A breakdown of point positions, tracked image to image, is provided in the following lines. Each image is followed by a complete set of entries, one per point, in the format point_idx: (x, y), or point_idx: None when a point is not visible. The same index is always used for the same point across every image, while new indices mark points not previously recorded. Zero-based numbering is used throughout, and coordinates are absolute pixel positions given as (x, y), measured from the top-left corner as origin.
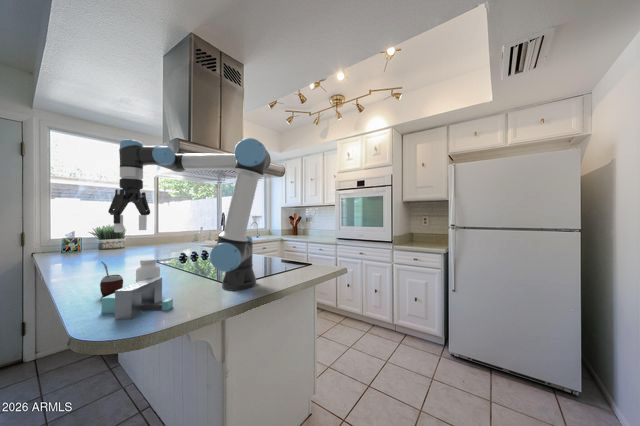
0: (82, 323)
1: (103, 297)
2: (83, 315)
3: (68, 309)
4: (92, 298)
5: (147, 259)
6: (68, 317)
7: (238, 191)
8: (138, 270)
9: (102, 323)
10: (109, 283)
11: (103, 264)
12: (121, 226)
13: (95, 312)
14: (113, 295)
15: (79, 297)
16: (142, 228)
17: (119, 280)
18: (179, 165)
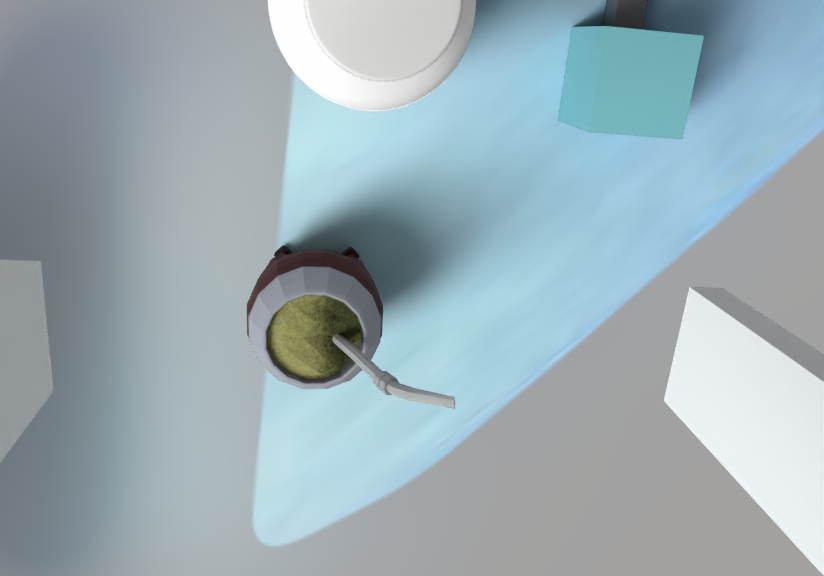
0: (766, 124)
1: (669, 137)
2: (651, 202)
3: (536, 349)
4: None
5: (389, 6)
6: (660, 257)
7: None
8: (462, 54)
9: (800, 15)
10: (377, 299)
11: (419, 396)
12: (784, 333)
13: (620, 169)
14: (640, 98)
15: (329, 451)
16: (30, 336)
17: (328, 265)
18: None
